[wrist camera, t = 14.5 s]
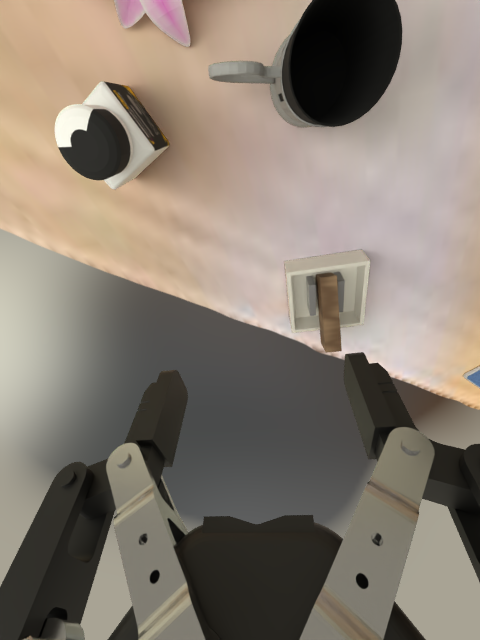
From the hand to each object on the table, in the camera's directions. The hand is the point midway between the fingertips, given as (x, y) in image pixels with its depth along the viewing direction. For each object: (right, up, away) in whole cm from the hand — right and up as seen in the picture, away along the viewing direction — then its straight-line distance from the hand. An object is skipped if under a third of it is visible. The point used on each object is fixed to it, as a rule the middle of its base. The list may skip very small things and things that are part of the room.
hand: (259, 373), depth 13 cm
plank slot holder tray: (+13, +8, +34) cm, 37 cm away
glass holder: (+4, +30, +18) cm, 35 cm away
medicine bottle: (-15, +26, +22) cm, 37 cm away
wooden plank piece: (+14, -2, +32) cm, 35 cm away
